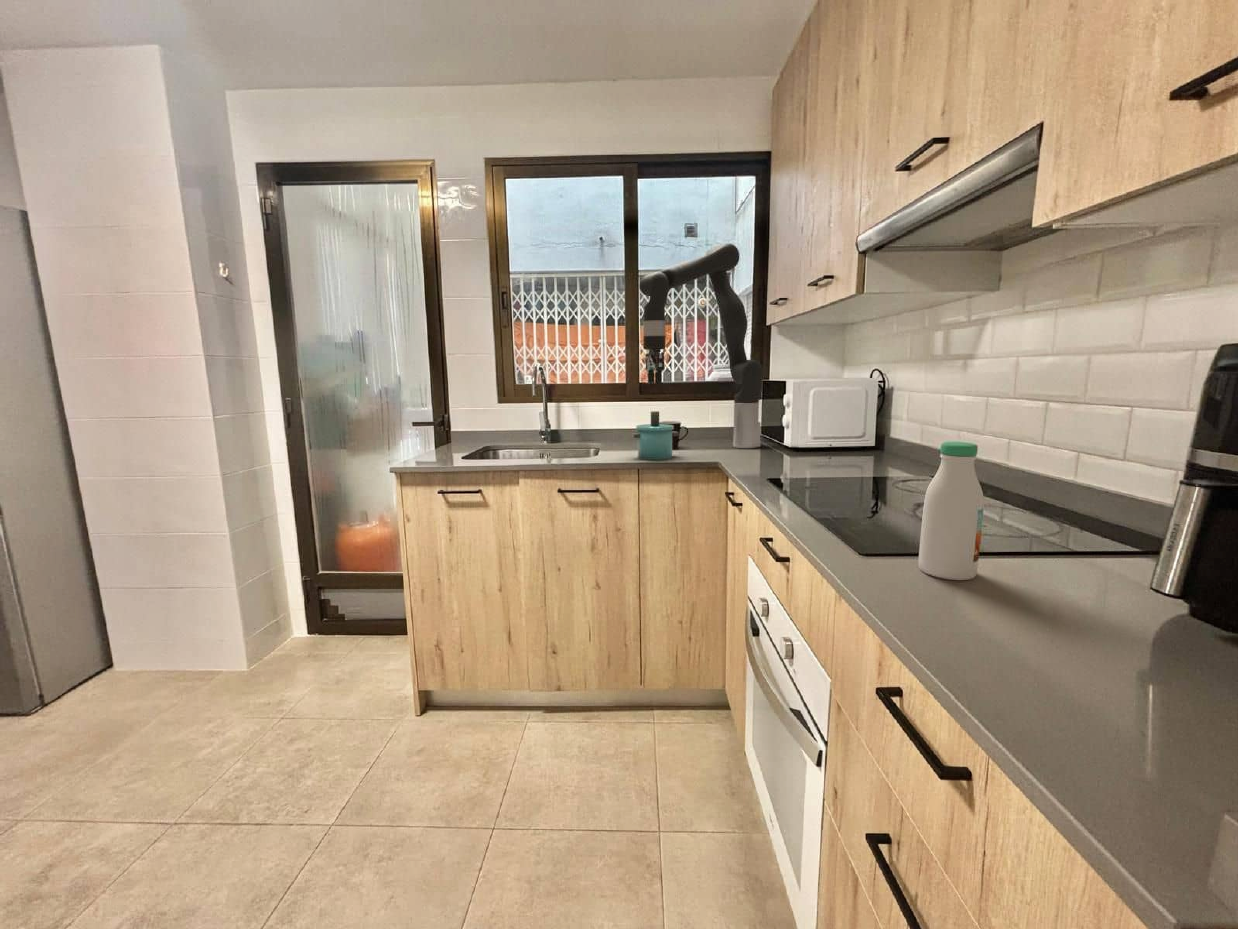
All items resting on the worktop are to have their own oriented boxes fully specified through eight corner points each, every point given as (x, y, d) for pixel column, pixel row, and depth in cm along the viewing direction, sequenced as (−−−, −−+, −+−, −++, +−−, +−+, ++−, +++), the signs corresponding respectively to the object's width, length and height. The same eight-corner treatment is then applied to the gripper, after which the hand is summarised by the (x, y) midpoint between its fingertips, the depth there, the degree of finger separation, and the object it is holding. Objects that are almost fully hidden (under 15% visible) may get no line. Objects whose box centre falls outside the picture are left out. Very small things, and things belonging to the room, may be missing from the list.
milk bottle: (963, 586, 77) (977, 449, 73) (908, 570, 83) (919, 443, 80) (985, 573, 81) (1000, 443, 78) (931, 559, 88) (943, 438, 84)
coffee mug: (654, 447, 211) (654, 422, 209) (672, 445, 215) (672, 420, 213) (670, 451, 201) (671, 424, 199) (689, 449, 205) (690, 423, 203)
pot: (671, 453, 196) (671, 426, 195) (682, 458, 185) (683, 429, 183) (628, 455, 193) (628, 427, 191) (637, 461, 181) (636, 431, 180)
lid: (664, 426, 195) (664, 409, 194) (679, 429, 183) (680, 412, 182) (631, 427, 191) (630, 411, 190) (644, 431, 179) (644, 413, 178)
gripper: (671, 333, 175) (671, 383, 178) (658, 336, 189) (658, 382, 192) (649, 333, 174) (650, 384, 177) (638, 336, 187) (638, 383, 190)
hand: (654, 383), depth 184 cm, fingers open, 8 cm apart
